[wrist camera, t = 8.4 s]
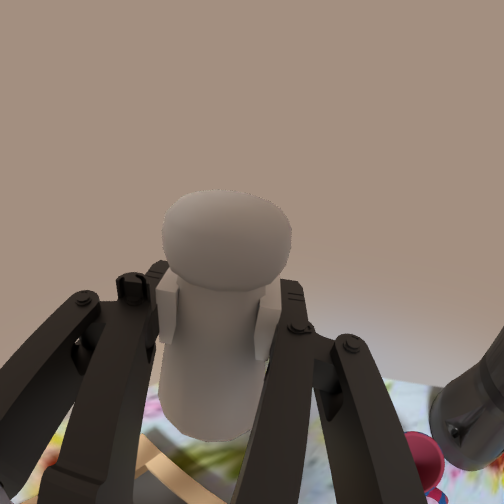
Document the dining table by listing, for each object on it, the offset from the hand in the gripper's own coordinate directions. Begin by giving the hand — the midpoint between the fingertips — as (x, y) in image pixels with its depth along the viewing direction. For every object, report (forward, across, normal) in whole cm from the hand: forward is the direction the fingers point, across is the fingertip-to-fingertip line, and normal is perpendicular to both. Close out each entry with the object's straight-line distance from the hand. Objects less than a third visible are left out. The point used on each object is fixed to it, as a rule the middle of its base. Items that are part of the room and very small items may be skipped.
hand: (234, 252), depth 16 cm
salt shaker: (-5, 0, -9) cm, 10 cm away
